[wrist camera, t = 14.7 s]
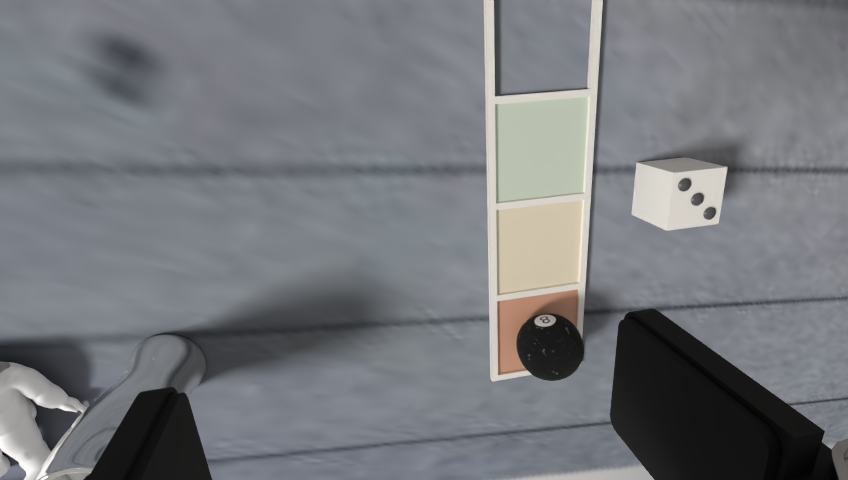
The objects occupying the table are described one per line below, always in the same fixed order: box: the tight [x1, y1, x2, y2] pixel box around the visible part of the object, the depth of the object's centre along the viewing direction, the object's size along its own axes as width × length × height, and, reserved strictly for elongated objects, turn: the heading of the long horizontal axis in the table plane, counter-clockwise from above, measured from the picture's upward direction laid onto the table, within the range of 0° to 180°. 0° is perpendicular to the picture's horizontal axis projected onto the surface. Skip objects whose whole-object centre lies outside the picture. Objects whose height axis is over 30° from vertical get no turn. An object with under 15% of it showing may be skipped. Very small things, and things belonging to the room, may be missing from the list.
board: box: [484, 0, 603, 382], centre depth 42 cm, size 37×10×1 cm, turn 4°
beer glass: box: [34, 334, 206, 480], centre depth 34 cm, size 7×7×15 cm
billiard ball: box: [516, 313, 584, 381], centre depth 44 cm, size 6×6×6 cm
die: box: [632, 157, 727, 231], centre depth 41 cm, size 5×5×5 cm
